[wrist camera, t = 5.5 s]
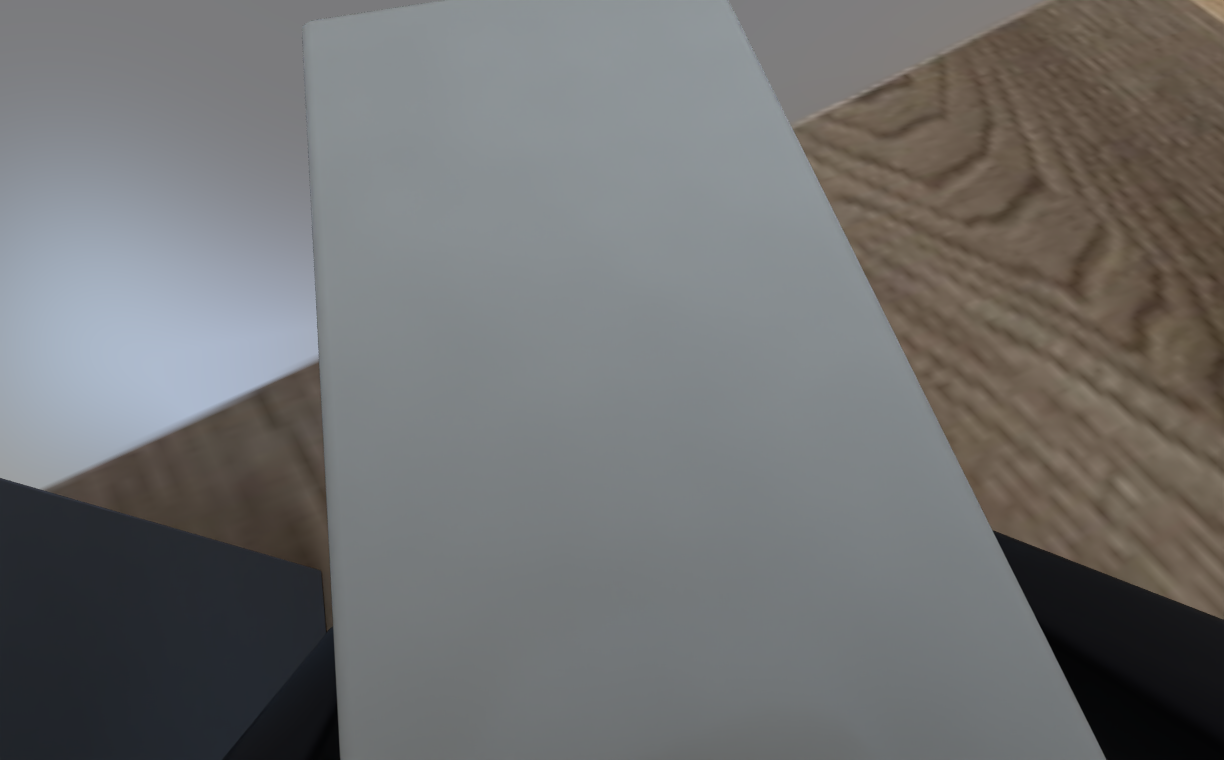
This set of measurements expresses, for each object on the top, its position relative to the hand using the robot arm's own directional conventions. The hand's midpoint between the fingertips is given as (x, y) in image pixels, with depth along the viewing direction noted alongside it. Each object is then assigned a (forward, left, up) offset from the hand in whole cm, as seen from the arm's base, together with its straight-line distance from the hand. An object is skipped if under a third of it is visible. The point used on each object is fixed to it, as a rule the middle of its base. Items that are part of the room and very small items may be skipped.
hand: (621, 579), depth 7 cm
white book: (-2, -1, -8) cm, 8 cm away
